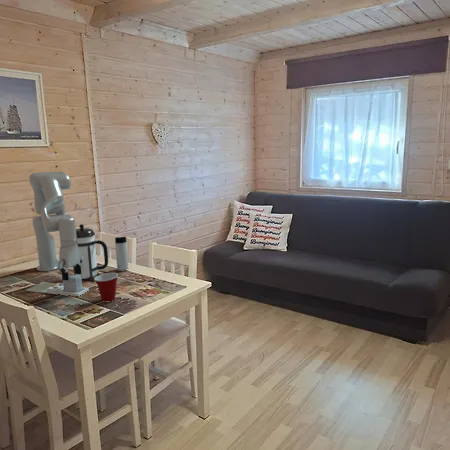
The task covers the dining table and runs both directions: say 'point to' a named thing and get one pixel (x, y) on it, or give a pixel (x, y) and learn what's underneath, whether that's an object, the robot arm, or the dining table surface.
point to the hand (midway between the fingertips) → (72, 276)
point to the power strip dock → (59, 289)
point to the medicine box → (73, 284)
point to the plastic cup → (107, 285)
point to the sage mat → (41, 287)
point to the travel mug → (121, 253)
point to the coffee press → (89, 253)
